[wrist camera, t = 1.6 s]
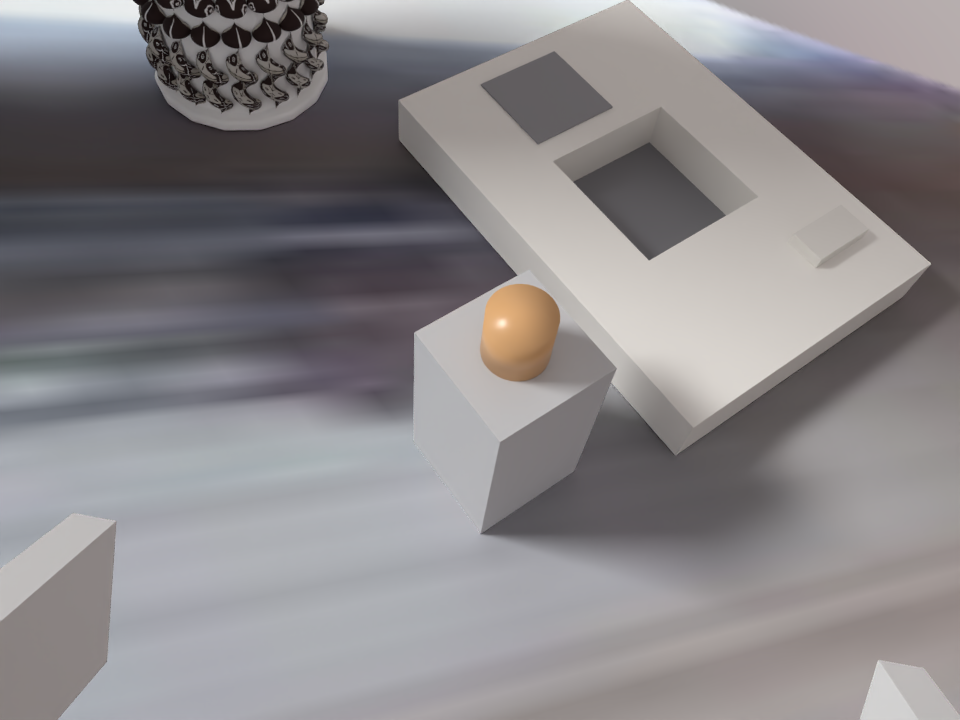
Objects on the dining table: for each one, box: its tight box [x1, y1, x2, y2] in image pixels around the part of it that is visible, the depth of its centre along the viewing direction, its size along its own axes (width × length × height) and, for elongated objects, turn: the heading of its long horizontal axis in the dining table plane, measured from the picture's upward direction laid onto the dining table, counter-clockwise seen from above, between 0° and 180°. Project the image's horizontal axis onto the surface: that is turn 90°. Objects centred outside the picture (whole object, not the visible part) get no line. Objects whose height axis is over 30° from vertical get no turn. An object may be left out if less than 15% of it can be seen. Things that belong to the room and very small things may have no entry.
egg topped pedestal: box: [413, 270, 617, 534], centre depth 29 cm, size 4×4×10 cm
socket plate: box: [398, 0, 931, 456], centre depth 39 cm, size 20×14×3 cm
